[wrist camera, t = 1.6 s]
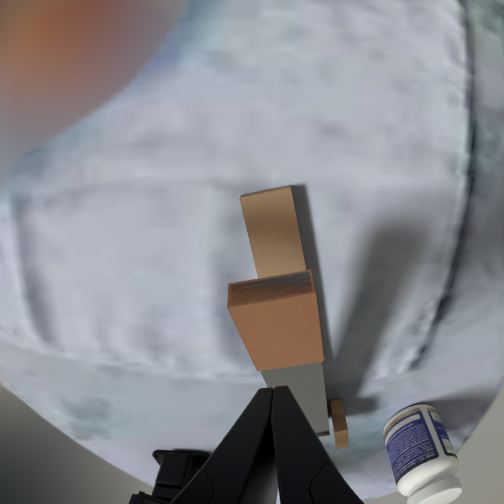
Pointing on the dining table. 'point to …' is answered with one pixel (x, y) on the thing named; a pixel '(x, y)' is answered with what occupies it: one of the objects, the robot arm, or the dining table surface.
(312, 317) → the metal tong arm
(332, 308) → the dining table surface
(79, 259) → the dining table surface
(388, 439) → the pill bottle
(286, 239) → the walnut tong base
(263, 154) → the dining table surface
